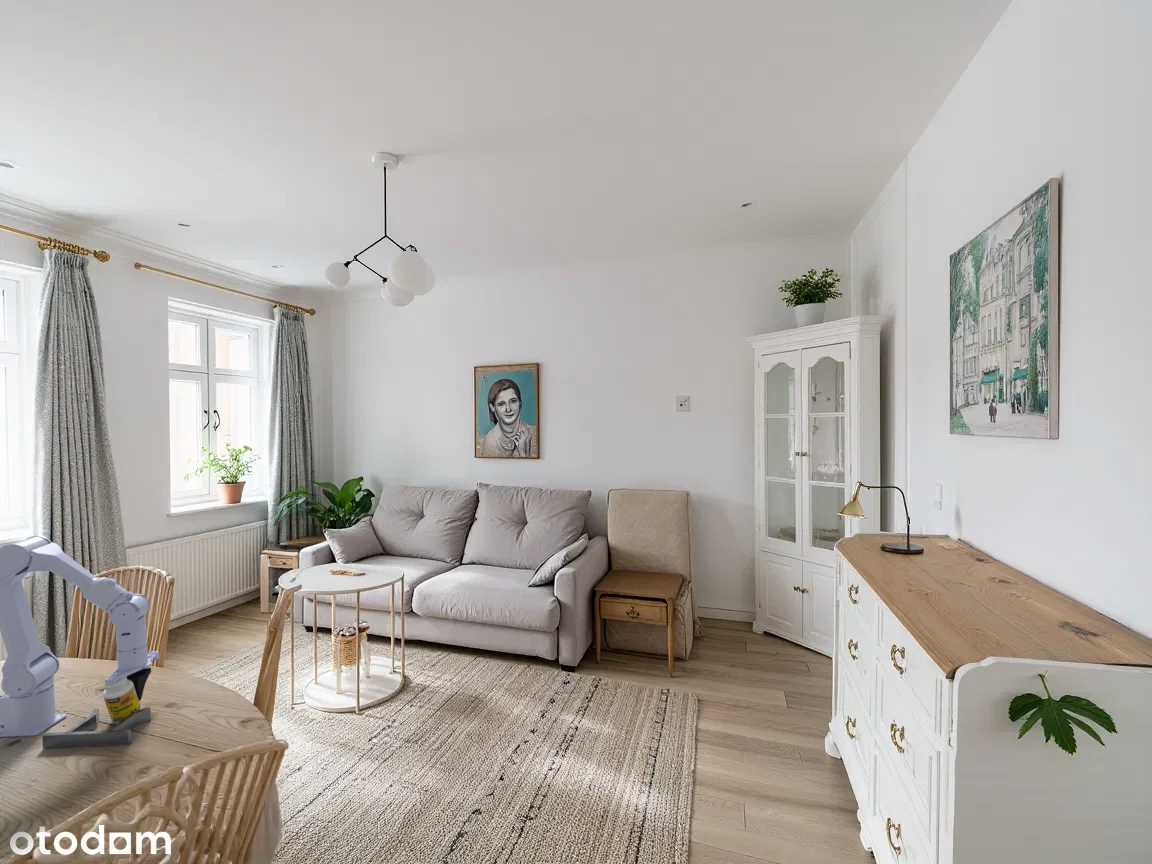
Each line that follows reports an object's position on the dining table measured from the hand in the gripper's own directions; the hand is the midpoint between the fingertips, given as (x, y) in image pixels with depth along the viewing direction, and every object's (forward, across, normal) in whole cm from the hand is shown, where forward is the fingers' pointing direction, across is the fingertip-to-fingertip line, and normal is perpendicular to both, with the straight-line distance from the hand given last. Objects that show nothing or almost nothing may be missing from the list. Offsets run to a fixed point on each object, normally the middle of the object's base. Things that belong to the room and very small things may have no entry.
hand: (135, 701), depth 132 cm
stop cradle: (+2, -9, 0) cm, 9 cm away
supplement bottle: (+2, -3, 0) cm, 3 cm away
